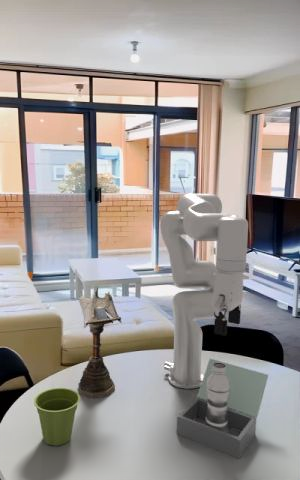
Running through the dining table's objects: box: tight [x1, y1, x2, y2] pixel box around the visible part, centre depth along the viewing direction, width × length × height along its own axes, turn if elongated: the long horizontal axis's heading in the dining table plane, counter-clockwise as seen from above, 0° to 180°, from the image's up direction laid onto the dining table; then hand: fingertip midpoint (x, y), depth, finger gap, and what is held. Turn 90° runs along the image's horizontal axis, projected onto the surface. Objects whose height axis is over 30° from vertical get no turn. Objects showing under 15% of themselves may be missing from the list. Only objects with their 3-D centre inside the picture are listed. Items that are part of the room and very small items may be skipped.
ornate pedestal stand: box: [78, 284, 122, 399], centre depth 132 cm, size 17×13×35 cm
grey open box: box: [176, 397, 257, 459], centre depth 114 cm, size 18×12×5 cm, turn 57°
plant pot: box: [33, 387, 81, 447], centre depth 110 cm, size 12×12×11 cm
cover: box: [196, 358, 269, 419], centre depth 121 cm, size 18×12×1 cm
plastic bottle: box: [203, 362, 230, 433], centre depth 113 cm, size 6×7×20 cm
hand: (227, 328), depth 110 cm, fingers open, 9 cm apart
